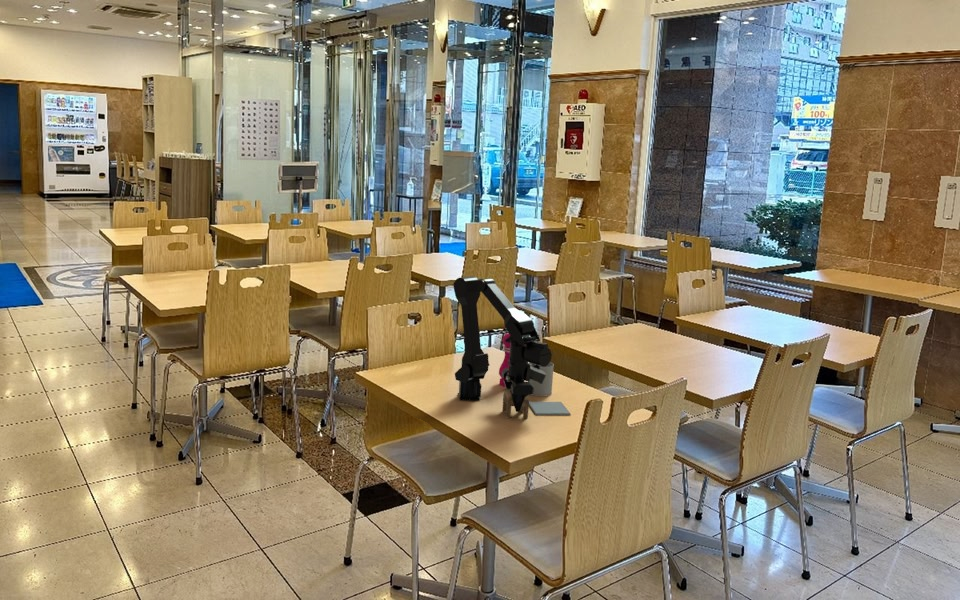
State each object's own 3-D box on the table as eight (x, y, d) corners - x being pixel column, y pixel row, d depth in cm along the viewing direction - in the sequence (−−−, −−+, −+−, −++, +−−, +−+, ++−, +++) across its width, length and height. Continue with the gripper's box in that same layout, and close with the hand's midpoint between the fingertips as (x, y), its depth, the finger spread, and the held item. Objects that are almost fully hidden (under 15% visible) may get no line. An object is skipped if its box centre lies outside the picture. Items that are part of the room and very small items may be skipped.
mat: (535, 415, 239) (536, 413, 239) (527, 403, 249) (528, 401, 249) (570, 415, 241) (570, 413, 240) (561, 403, 251) (561, 401, 251)
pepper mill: (498, 387, 264) (502, 330, 260) (497, 381, 271) (501, 325, 267) (519, 388, 264) (523, 331, 260) (518, 382, 271) (522, 326, 268)
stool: (506, 417, 234) (508, 395, 233) (502, 410, 241) (503, 388, 239) (527, 417, 235) (529, 395, 234) (523, 410, 242) (524, 389, 240)
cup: (536, 397, 256) (538, 368, 254) (521, 390, 263) (524, 361, 261) (556, 394, 261) (558, 365, 259) (541, 387, 267) (543, 359, 265)
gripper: (552, 367, 227) (548, 418, 230) (537, 351, 245) (534, 398, 248) (515, 367, 225) (511, 418, 228) (503, 350, 243) (499, 397, 246)
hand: (515, 407), depth 238 cm, fingers closed on stool, 6 cm apart
